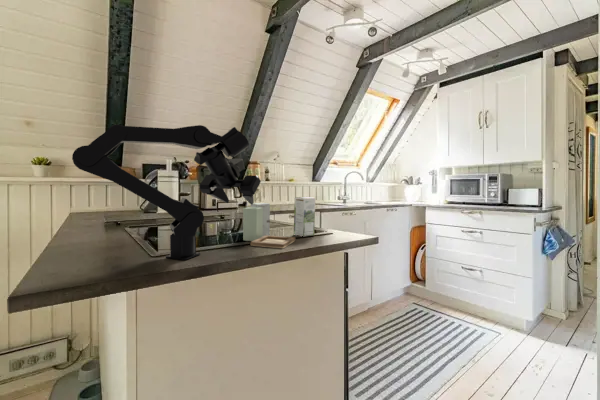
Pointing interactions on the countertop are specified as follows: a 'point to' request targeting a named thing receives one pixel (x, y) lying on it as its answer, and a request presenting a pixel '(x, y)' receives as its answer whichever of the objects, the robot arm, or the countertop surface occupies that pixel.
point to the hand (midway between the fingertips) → (240, 202)
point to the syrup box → (304, 216)
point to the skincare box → (264, 216)
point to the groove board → (273, 241)
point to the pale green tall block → (252, 223)
